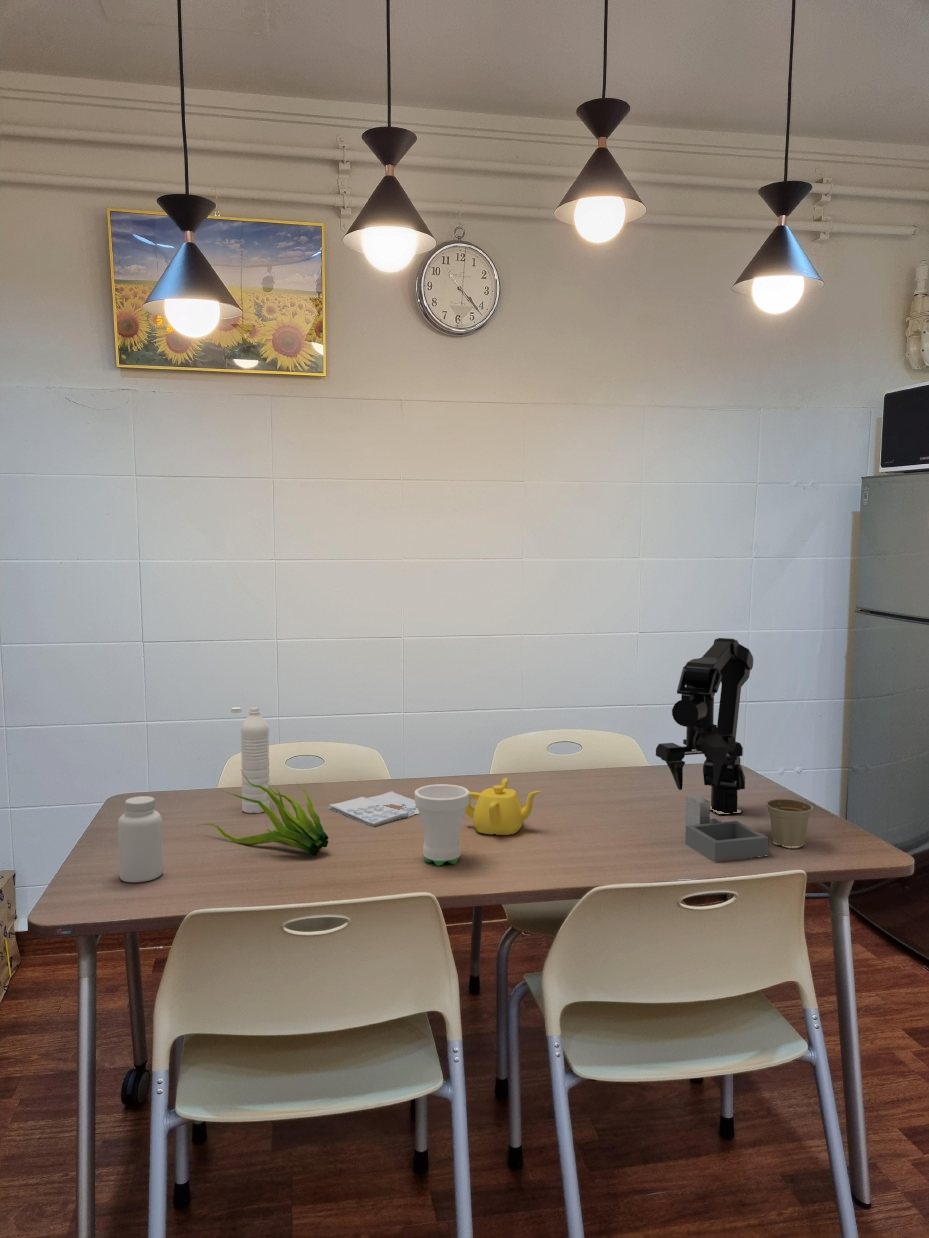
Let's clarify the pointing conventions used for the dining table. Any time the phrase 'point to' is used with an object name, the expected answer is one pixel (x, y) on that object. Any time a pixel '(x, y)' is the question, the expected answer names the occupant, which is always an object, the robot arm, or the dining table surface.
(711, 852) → the bin
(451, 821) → the cup
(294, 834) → the decorative plant
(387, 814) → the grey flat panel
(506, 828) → the teapot
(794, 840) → the flower pot
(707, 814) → the bracket
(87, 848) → the dining table surface
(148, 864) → the pill bottle
